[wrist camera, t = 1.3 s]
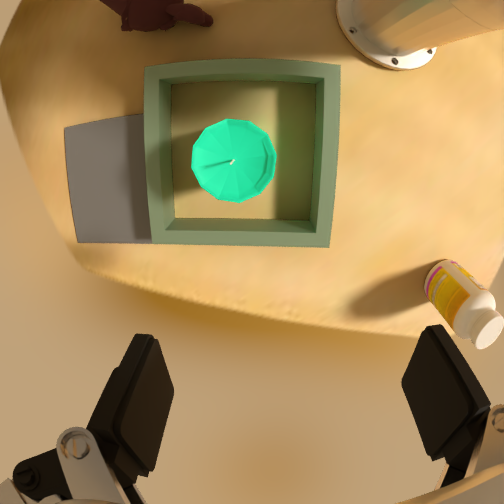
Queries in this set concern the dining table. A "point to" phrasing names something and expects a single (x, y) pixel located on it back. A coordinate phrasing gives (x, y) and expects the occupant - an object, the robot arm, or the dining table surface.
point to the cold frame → (240, 230)
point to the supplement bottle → (463, 303)
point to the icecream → (157, 14)
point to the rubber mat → (108, 180)
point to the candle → (233, 160)
